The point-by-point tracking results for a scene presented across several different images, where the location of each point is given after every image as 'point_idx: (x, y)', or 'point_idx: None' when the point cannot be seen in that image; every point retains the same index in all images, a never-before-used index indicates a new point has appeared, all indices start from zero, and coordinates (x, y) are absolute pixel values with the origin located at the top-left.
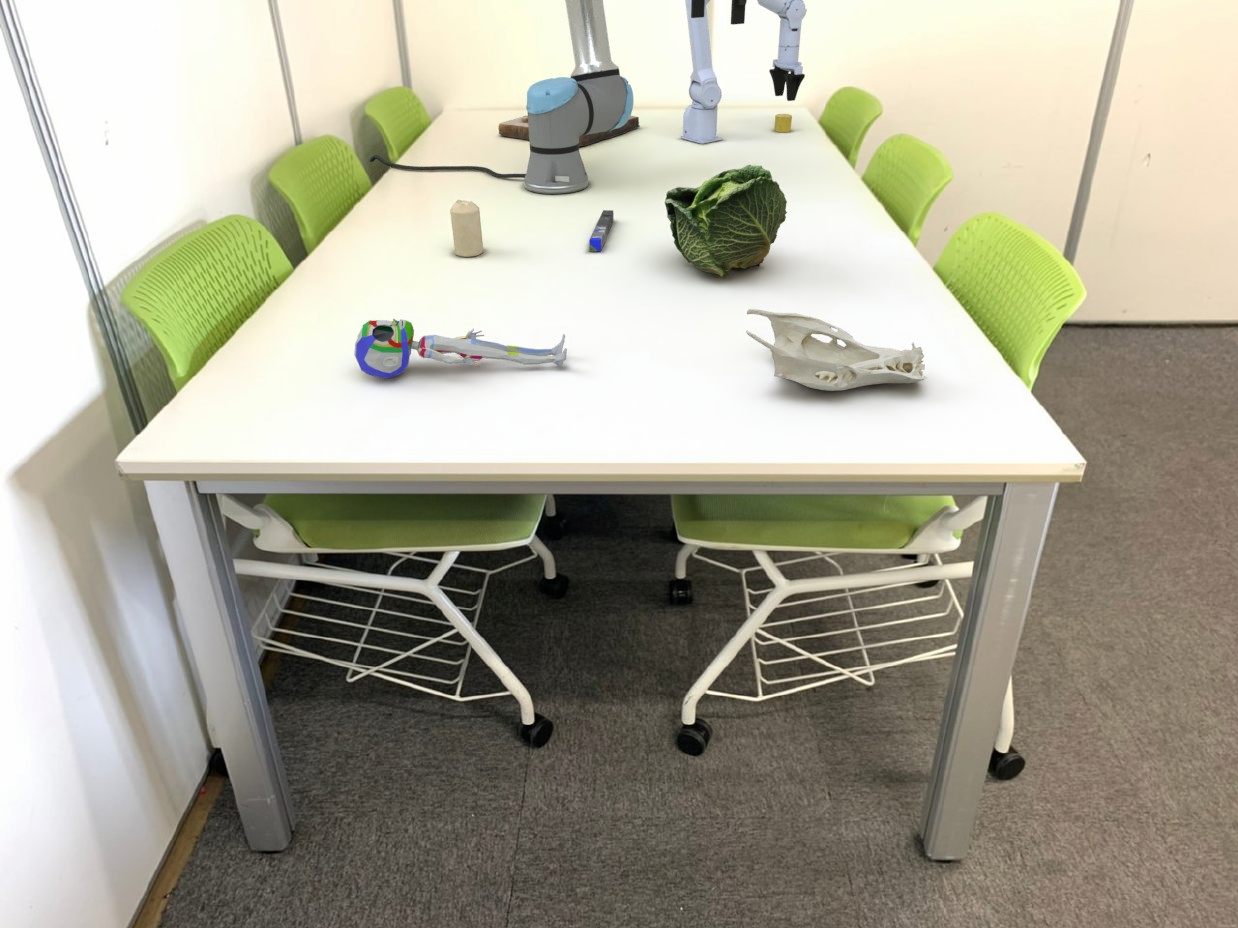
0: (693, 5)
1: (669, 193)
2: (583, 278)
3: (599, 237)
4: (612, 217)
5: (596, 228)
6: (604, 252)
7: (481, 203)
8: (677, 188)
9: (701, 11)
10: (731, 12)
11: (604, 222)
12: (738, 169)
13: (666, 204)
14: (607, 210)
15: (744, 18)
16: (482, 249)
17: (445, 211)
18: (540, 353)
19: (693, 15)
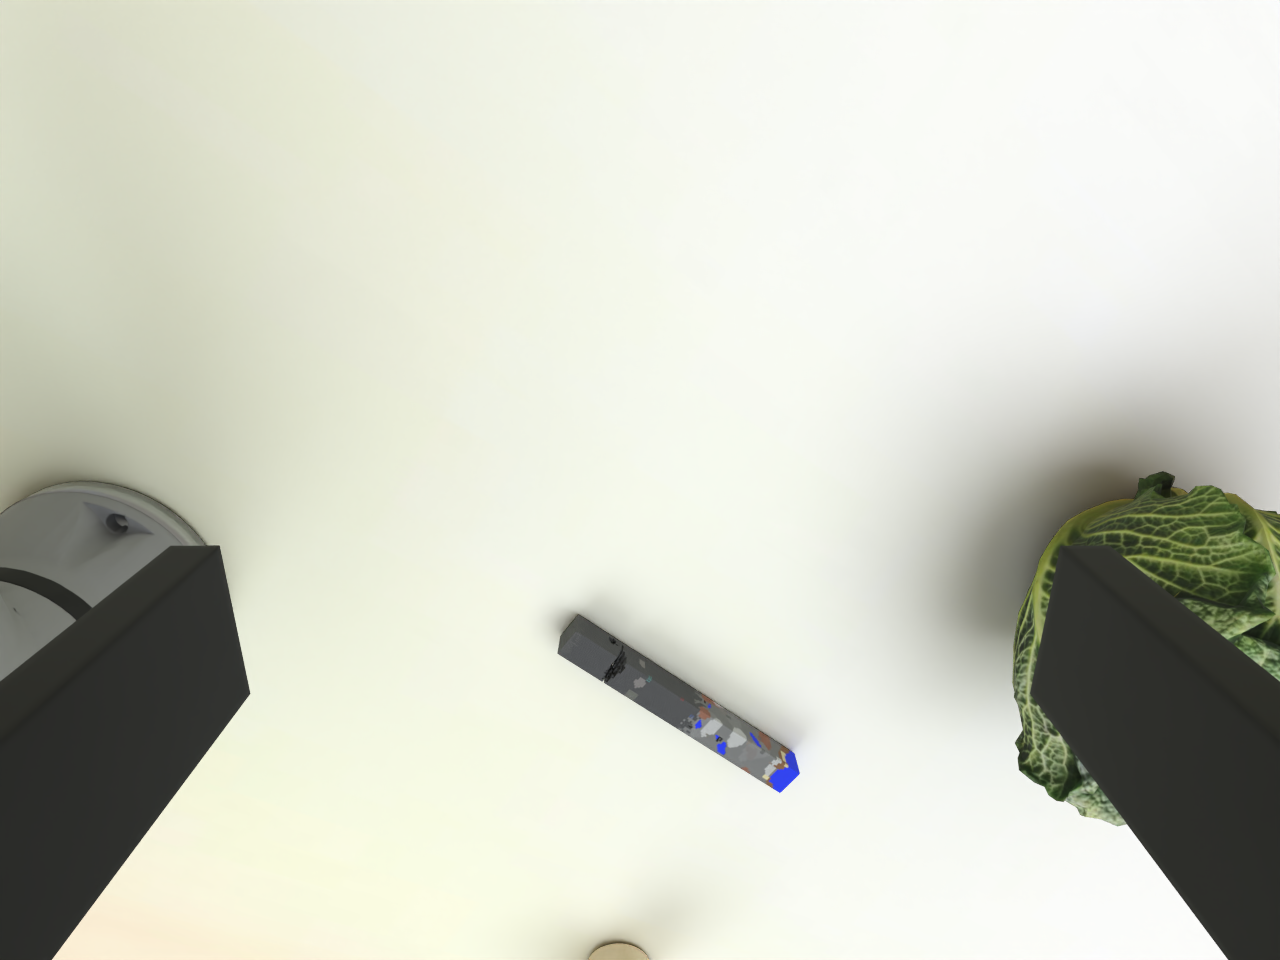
0: (173, 796)
1: (1064, 795)
2: (920, 848)
3: (778, 766)
4: (596, 635)
5: (705, 741)
6: (798, 743)
7: (222, 822)
8: (1093, 791)
9: (188, 623)
10: (1103, 783)
11: (669, 702)
12: (1232, 637)
13: (1025, 765)
14: (566, 644)
15: (1140, 574)
16: (639, 955)
17: (260, 910)
18: None
19: (234, 710)
